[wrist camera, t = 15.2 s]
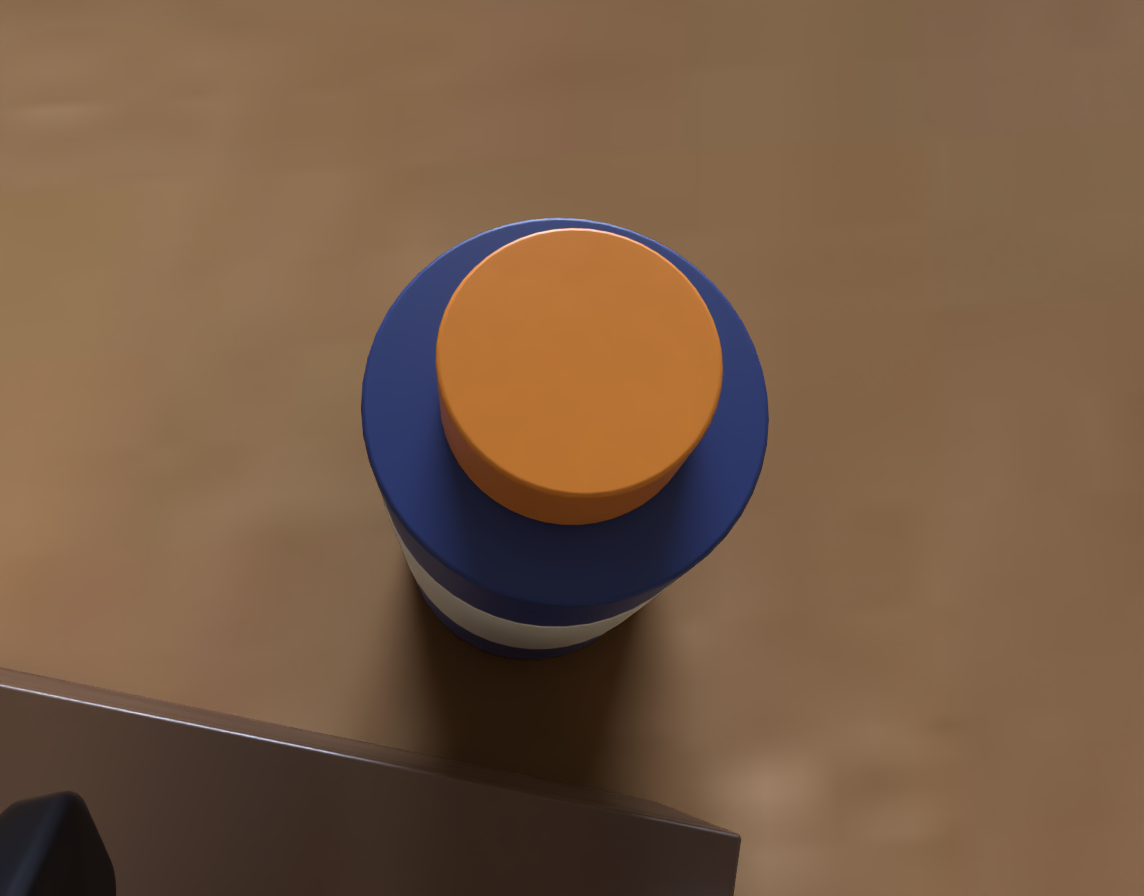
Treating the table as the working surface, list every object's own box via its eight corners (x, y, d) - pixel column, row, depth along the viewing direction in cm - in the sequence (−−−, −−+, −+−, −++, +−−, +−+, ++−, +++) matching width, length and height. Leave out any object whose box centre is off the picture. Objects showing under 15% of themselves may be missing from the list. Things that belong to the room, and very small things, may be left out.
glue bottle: (540, 714, 19) (607, 697, 9) (356, 546, 19) (240, 366, 10) (696, 529, 20) (899, 347, 11) (520, 376, 21) (561, 71, 11)
